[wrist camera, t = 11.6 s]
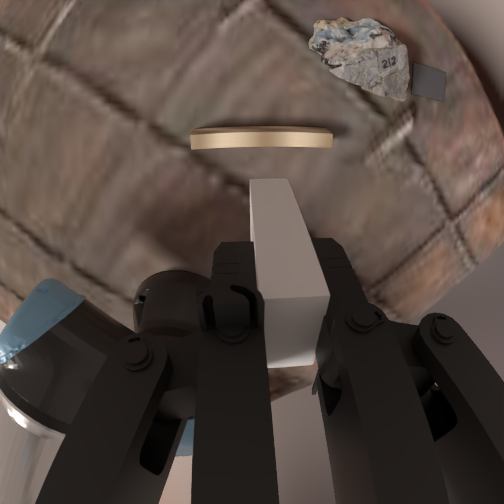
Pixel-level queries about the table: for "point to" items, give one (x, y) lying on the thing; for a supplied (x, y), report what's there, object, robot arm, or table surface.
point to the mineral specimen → (363, 55)
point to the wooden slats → (261, 137)
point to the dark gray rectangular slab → (428, 82)
